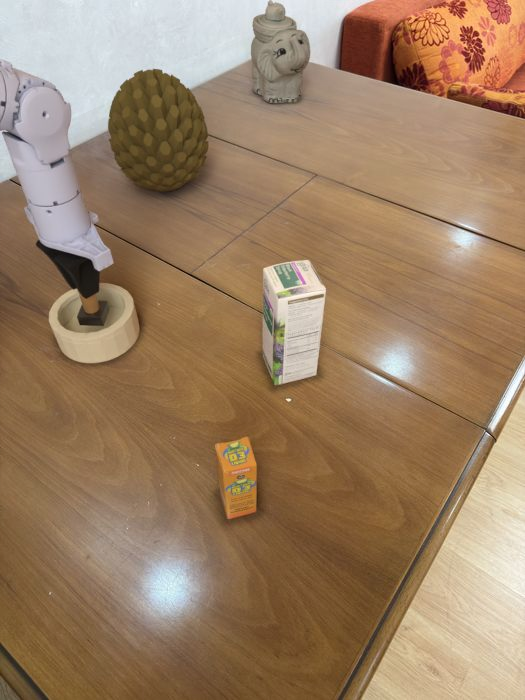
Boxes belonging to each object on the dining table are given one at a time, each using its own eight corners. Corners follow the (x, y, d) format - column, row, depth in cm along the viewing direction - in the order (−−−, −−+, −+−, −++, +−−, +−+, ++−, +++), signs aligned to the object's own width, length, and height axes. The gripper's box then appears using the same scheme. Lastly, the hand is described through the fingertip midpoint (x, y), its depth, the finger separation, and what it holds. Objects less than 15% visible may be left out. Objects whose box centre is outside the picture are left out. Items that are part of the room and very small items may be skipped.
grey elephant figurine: (302, 115, 120) (306, 20, 106) (238, 108, 123) (234, 14, 109) (317, 87, 131) (323, -3, 117) (258, 81, 134) (257, -7, 120)
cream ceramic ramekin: (41, 349, 71) (30, 325, 68) (89, 299, 78) (82, 275, 74) (110, 373, 68) (102, 348, 65) (154, 318, 75) (149, 294, 72)
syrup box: (261, 354, 70) (259, 266, 59) (303, 344, 71) (309, 256, 61) (274, 387, 66) (275, 298, 56) (319, 376, 67) (328, 287, 57)
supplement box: (227, 523, 54) (220, 472, 47) (219, 493, 56) (212, 440, 49) (258, 514, 55) (257, 463, 47) (250, 485, 57) (247, 432, 50)
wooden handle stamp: (79, 325, 70) (60, 271, 63) (86, 309, 72) (68, 254, 65) (103, 326, 70) (86, 271, 63) (109, 309, 72) (93, 255, 65)
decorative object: (215, 163, 105) (207, 53, 90) (207, 211, 93) (195, 92, 79) (130, 163, 105) (108, 52, 91) (111, 210, 94) (82, 92, 79)
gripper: (124, 201, 56) (146, 299, 66) (49, 157, 63) (79, 251, 73) (66, 230, 52) (99, 329, 62) (-7, 180, 59) (32, 276, 69)
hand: (85, 289), depth 67 cm, fingers closed on wooden handle stamp, 2 cm apart
